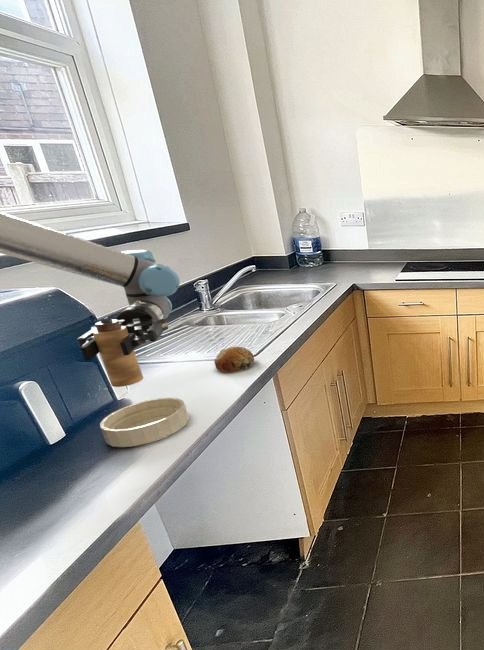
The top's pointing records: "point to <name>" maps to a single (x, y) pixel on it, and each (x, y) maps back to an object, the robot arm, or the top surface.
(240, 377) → the top surface
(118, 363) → the pepper mill
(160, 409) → the bowl
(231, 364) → the bread roll
